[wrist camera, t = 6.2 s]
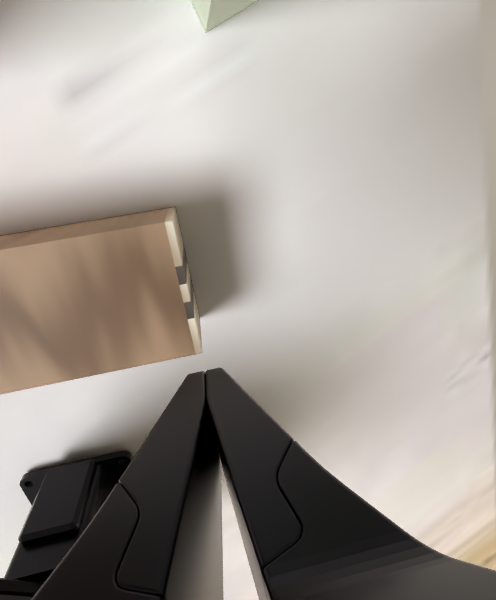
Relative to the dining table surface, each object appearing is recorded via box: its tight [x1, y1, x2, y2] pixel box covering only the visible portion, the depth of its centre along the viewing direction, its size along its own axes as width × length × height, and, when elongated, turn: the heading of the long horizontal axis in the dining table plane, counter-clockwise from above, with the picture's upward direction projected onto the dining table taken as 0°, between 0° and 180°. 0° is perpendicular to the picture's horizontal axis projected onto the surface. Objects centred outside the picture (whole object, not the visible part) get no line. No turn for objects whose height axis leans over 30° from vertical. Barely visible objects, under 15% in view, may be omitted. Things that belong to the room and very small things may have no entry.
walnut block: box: [0, 207, 202, 394], centre depth 15 cm, size 6×4×12 cm
